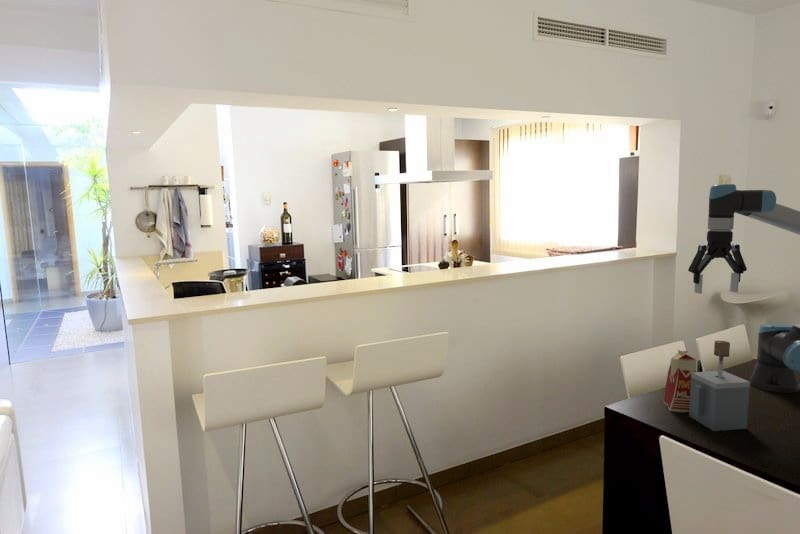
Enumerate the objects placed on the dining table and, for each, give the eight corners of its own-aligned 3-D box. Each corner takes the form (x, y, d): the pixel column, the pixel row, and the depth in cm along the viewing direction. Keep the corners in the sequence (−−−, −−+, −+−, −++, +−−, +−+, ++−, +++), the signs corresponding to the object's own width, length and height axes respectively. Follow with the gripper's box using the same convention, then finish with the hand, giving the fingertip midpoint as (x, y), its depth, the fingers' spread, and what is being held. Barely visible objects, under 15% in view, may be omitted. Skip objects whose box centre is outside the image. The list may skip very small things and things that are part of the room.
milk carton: (700, 413, 177) (704, 353, 174) (669, 411, 178) (672, 351, 176) (691, 403, 185) (695, 345, 183) (662, 401, 187) (665, 344, 185)
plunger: (719, 413, 174) (724, 338, 171) (739, 423, 166) (744, 345, 163) (696, 414, 173) (700, 339, 170) (714, 425, 165) (719, 346, 162)
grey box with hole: (720, 414, 176) (723, 370, 174) (746, 428, 165) (750, 381, 163) (683, 417, 174) (685, 372, 172) (707, 431, 163) (710, 384, 161)
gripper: (744, 229, 191) (740, 289, 194) (679, 230, 188) (675, 291, 190) (761, 230, 184) (757, 293, 186) (693, 231, 180) (690, 295, 183)
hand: (716, 292), depth 188 cm, fingers open, 13 cm apart
